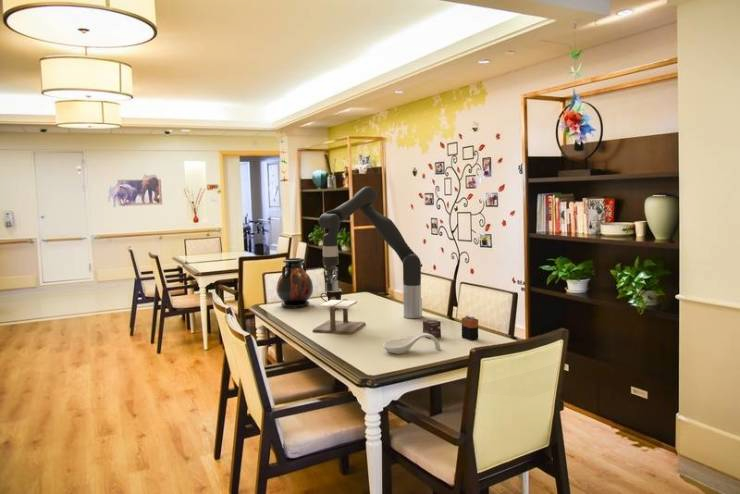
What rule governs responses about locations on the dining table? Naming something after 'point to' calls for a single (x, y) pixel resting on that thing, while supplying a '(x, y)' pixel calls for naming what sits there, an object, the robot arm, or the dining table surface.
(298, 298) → the amphora vase
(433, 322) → the box
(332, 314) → the stand
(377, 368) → the dining table surface
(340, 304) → the trapdoor
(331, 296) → the coffee mug
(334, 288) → the gray cube
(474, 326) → the battery
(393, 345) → the spoon rest
